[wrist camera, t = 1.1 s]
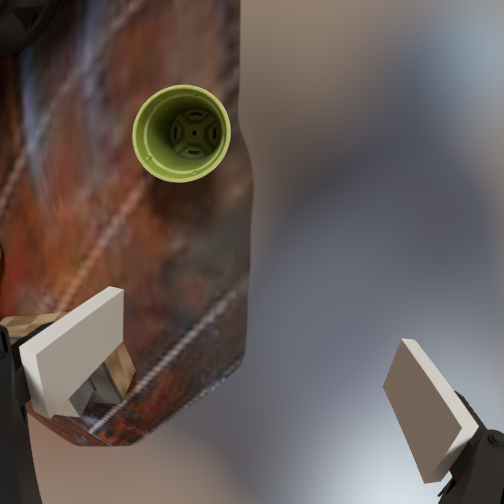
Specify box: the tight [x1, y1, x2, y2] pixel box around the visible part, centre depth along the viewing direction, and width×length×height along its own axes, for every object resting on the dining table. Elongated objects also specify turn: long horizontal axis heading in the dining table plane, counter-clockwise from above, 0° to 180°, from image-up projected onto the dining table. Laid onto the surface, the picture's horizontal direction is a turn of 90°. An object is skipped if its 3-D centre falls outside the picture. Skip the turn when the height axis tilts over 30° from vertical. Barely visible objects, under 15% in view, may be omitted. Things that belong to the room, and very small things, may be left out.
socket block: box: [0, 312, 136, 404], centre depth 43 cm, size 12×25×8 cm, turn 99°
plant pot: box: [133, 85, 231, 183], centre depth 32 cm, size 9×9×9 cm
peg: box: [55, 376, 95, 417], centre depth 37 cm, size 6×6×8 cm
